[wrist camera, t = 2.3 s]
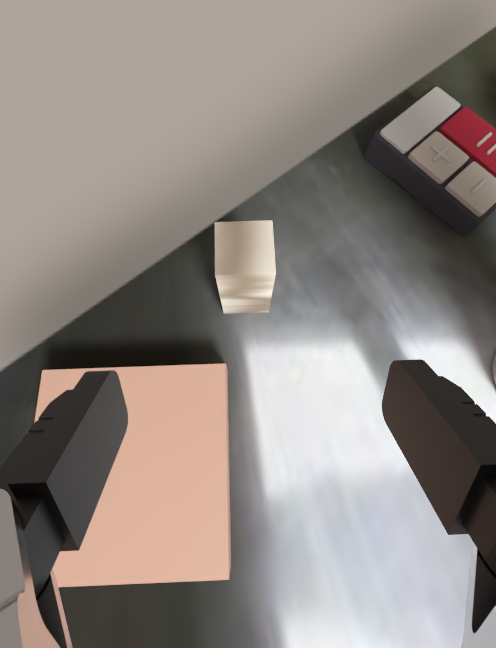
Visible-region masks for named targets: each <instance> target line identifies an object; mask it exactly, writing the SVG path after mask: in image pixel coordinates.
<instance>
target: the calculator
mask: <svg viewBox="0 0 496 648" xmlns="http://www.w3.org/2000/svg"><path fill="white" fill-rule="evenodd" d="M363 157H364V158H365V159H366V160H367V161H368V162H370V163H371V164H372V165H373V166H375V167H376V168H377V169H378V170H380V171H381V172H382V173H383V174H385V175H386V176H387V177H389V178H392V179H394V180H395V181H396V182H397V183H398V184H399V185H401V186H402V187H403V188H404V189H405V190H406V191H408V192H409V193H410V194H411V195H412V196H413V197H414V198H416V199H417V200H418V201H419V202H420V203H421V204H423V205H424V206H425V207H426V208H428V209H429V210H430V211H431V212H433V213H434V214H435V215H436V216H438V217H439V218H440V219H441V220H443V221H444V222H445V223H446V224H448V225H449V226H450V227H451V228H453V229H454V230H455V231H456V232H458V233H459V234H461V235H465V234H467V233H468V232H469V231H471V230H472V229H473V228H474V227H476V226H477V225H478V224H480V223H481V222H482V221H483V220H484V219H485V218H486V217H487V216H488V215H489V214H490V213H491V212H492V211H493V210H495V209H496V129H495V128H493V127H492V126H491V125H490V124H488V123H487V122H486V121H484V120H483V119H482V118H481V117H479V116H478V115H477V114H475V113H474V112H473V111H472V110H470V109H469V108H467V107H462V106H461V105H460V104H459V103H458V102H457V101H456V100H454V99H453V98H452V97H450V96H449V95H448V94H447V93H445V92H444V91H443V90H441V89H440V88H439V87H436V86H432V87H431V88H430V89H428V90H427V91H426V92H425V93H423V94H422V95H421V96H419V97H418V98H417V99H416V100H414V101H413V102H412V103H411V104H409V105H408V106H407V107H406V108H404V109H403V110H402V111H401V112H399V113H398V114H397V115H396V116H394V117H393V118H392V119H391V120H389V121H388V122H387V123H385V124H384V125H383V126H382V127H380V128H379V129H378V130H377V131H375V133H374V134H373V136H372V138H371V140H370V142H369V144H368V146H367V148H366V150H365V152H364V154H363Z"/></svg>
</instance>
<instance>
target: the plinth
mask: <svg viewBox="0 0 496 648" xmlns="http://www.w3.org/2000/svg"><path fill="white" fill-rule="evenodd" d="M108 370H114V371H116V372H117V374H118V376H119V380H120V384H121V388H122V391H123V395H124V399H125V403H126V407H127V411H128V426H127V430H126V433H125V436H124V438H123V441H122V444H121V446H120V449H119V451H118V454H117V456H116V459H115V461H114V464H113V466H112V469H111V471H110V474H109V476H108V479H107V481H106V484H105V486H104V489H103V491H102V494H101V496H100V499H99V502H98V504H97V507H96V509H95V512H94V514H93V517H92V519H91V522H90V524H89V527H88V529H87V532H86V534H85V537H84V539H83V542H82V544H81V547H80V549H79V551H60V552H59V555H58V557H57V559H56V561H55V564H54V566H53V568H52V569H53V571H54V573H55V577H56V581H57V585H58V587H72V586H95V585H118V584H141V583H164V582H187V581H210V580H229V575H230V566H231V536H230V479H229V423H228V369H227V366H226V364H198V365H170V366H142V367H114V368H86V369H58V370H42V376H41V383H40V389H39V396H38V402H37V409H36V416H35V422H36V421H38V418H39V416H40V415H41V414H42V412H43V411H44V410H45V408H46V407H47V406H48V404H49V403H50V402H51V401H53V400H54V399H55V398H57V397H58V396H59V395H61V394H62V393H63V392H65V391H66V390H73V389H74V387H75V386H76V384H77V383H78V381H79V380H80V379H81V377H82V376H83V374H84V373H85V372H87V371H108ZM35 422H34V423H35Z"/></svg>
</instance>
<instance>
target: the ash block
mask: <svg viewBox="0 0 496 648" xmlns="http://www.w3.org/2000/svg"><path fill="white" fill-rule="evenodd" d="M275 275H276V267H275V252H274V237H273V222H272V220H270V221H238V222H215V277H216V282H217V286H218V290H219V295H220V299H221V304H222V308H223V313H253V312H269V307H270V302H271V296H272V291H273V286H274V280H275Z"/></svg>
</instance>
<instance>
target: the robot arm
mask: <svg viewBox="0 0 496 648" xmlns="http://www.w3.org/2000/svg"><path fill="white" fill-rule="evenodd" d="M492 370H493V377H494V381H495V384H496V353H495V356H494V359H493V369H492ZM382 412H383V416H384V420H385V422H386V424H387V426H388V428H389V429H390V431H391V433H392V435H393V437H394V438H395V440H396V442H397V444H398V445H399V447H400V449H401V451H402V453H403V454H404V456H405V458H406V460H407V462H408V463H409V465H410V467H411V469H412V471H413V472H414V474H415V476H416V478H417V479H418V481H419V483H420V485H421V487H422V488H423V490H424V492H425V494H426V496H427V497H428V499H429V501H430V503H431V505H432V506H433V508H434V510H435V512H436V513H437V515H438V517H439V519H440V521H441V522H442V524H443V526H444V528H445V530H446V531H447V533H448V535H453V534H469V535H470V537H471V539H472V540H473V542H474V544H475V545H474V547H473V549H472V552H471V560H470V571H469V582H468V594H467V605H466V616H465V627H464V636H463V642H462V647H461V648H496V424H495V422H494V421H493V420H492V419H491V418H490V417H486V413H485V412H484V411H483V410H482V409H481V408H480V407H479V406H478V405H477V404H476V405H475V404H474V401H473V400H472V399H471V398H470V397H469V396H468V395H467V393H466V392H465V391H464V390H463V389H462V388H461V387H459V386H457V385H456V384H454V383H453V382H451V381H449V380H448V379H446V378H444V377H443V376H438V375H437V374H436V373H435V372H434V371H433V370H432V369H431V368H430V367H429V366H428V364H427V363H426V362H425V361H423V360H397V361H393V362H392V364H391V366H390V369H389V374H388V378H387V383H386V387H385V391H384V396H383V401H382ZM127 426H128V411H127V407H126V403H125V399H124V395H123V391H122V388H121V384H120V380H119V376H118V374H117V372H116V371H114V370H108V371H87V372H85V373H84V374H83V376H82V377H81V379H80V380H79V381H78V383H77V384H76V386H75V387H74V389H73V390H66V391H65V392H63V393H62V394H61V395H59V396H58V397H57V398H55V399H54V400H53V401H51V402H50V403H49V404H48V406H47V407H46V408H45V410H44V411H43V412H42V414H41V415H40V416H39V418H38V421H36V422H35V423H34V424H33V426H32V427H31V428H30V430H29V433H28V434H26V435H25V436H24V438H23V439H22V440H21V442H20V443H19V444H18V446H17V447H16V448H15V450H14V451H13V452H12V454H11V455H10V456H9V458H8V459H7V460H6V462H5V463H4V464H3V466H2V467H1V468H0V648H72V644H71V639H70V635H69V631H68V627H67V623H66V619H65V615H64V610H63V606H62V602H61V598H60V594H59V590H58V585H57V581H56V577H55V573H54V571H53V569H52V568H53V566H54V564H55V561H56V559H57V557H58V555H59V552H60V551H79V549H80V547H81V544H82V542H83V539H84V537H85V534H86V532H87V529H88V527H89V524H90V522H91V519H92V517H93V514H94V512H95V509H96V507H97V504H98V502H99V499H100V496H101V494H102V491H103V489H104V486H105V484H106V481H107V479H108V476H109V474H110V471H111V469H112V466H113V464H114V461H115V459H116V456H117V454H118V451H119V449H120V446H121V444H122V441H123V438H124V436H125V433H126V430H127Z"/></svg>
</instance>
